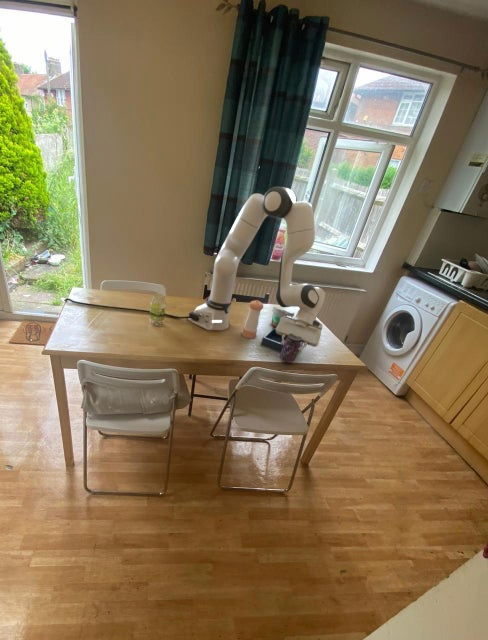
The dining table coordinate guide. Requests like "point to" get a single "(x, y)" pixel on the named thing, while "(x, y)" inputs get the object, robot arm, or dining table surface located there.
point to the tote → (273, 340)
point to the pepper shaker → (252, 319)
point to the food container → (279, 316)
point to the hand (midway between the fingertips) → (290, 347)
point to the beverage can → (290, 348)
